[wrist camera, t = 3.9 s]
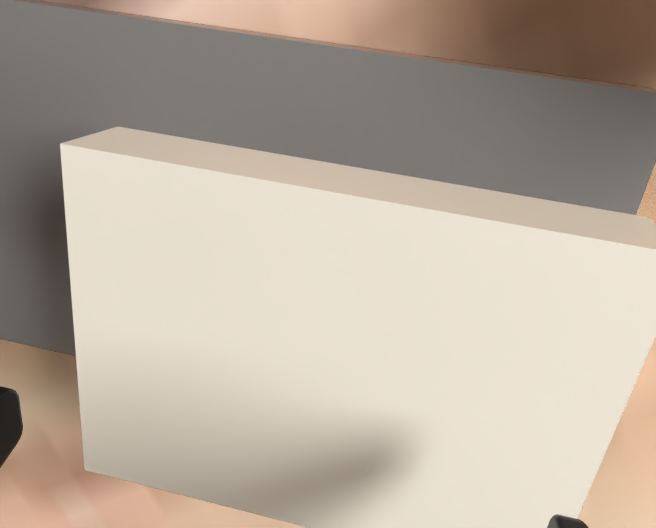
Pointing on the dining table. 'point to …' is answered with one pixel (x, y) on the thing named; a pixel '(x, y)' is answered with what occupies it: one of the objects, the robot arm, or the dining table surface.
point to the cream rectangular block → (346, 335)
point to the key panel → (282, 125)
